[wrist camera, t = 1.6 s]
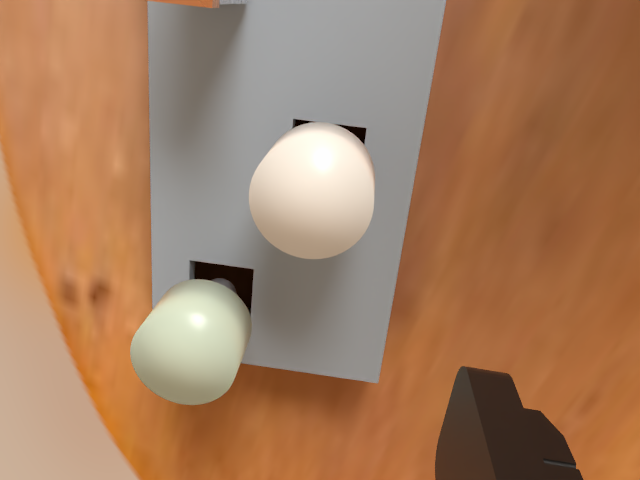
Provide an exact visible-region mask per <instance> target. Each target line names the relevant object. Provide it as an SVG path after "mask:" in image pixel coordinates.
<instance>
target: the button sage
mask: <svg viewBox="0 0 640 480" xmlns="http://www.w3.org/2000/svg"><path fill="white" fill-rule="evenodd" d="M251 333H252V321H251V317H250V313H249V311H248V309H247V307H246V305H245V304H244V302H243V301H242V300H241V299H240V297H239V296H238V295H237V292H236V289H235V287H234V285H233V284H232V283H231V282H230V281H228V280H226V279H223V278H215V279H213V280H211V281H209V280H203V279H192V280H186V281H183V282H180V283H178V284H176V285H174V286H173V287H171V288H170V289H169V290H168V291H167V292H166V293H165V294H164V295H163V297H162V298H161V299H160V301H159V302H158V303H157V305H156V306H155V307H154V309H153V310H152V311H151V313H150V314H149V315H148V317H147V318H146V320H145V321H144V322H143V324H142V325H141V326H140V328H139V329H138V330H137V332H136V333H135V335H134V337H133V340H132V343H131V350H130V355H131V361H132V365H133V367H134V370H135V372H136V374H137V375H138V377H139V378H140V380H141V381H142V382H143V383H144V384H145V385H146V387H148V388H149V389H150V390H151V391H152V392H154V393H155V394H157V395H158V396H160V397H162V398H164V399H166V400H169V401H172V402H175V403H179V404H185V405H199V404H205V403H209V402H211V401H214V400H216V399H218V398H219V397H221V396H222V395H223V394H225V393H226V392H227V391H228V389H229V388H230V387H231V385H232V383H233V381H234V379H235V376H236V374H237V371H238V369H239V366H240V363H241V361H242V358H243V356H244V353H245V351H246V348H247V345H248V343H249V340H250V337H251Z"/></svg>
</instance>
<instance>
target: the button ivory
mask: <svg viewBox="0 0 640 480" xmlns="http://www.w3.org/2000/svg"><path fill="white" fill-rule="evenodd" d="M374 192H375V170H374V165H373V161H372V158H371V156H370V154H369V152H368V150H367V148H366V147H365V145H364V144H363V143H362V142H361V141H360V139H359V138H357V137H356V136H355V135H354V134H353V133H351V132H350V131H348V130H347V129H345V128H343V127H341V126H338V125H335V124H331V123H326V122H310V123H306V124H302V125H299V126H296V127H294V128H292V129H290V130H289V131H287V132H286V133H284V134H283V135H282V136H281V137H280V138H279V139H278V140H277V141H276V143H275V144H274V145H273V147H272V148H271V149H270V151H269V152H268V153H267V155H266V156H265V157H264V159H263V160H262V161H261V163H260V164H259V165H258V167H257V169H256V170H255V172H254V175H253V177H252V180H251V183H250V188H249V206H250V211H251V214H252V217H253V220H254V222H255V224H256V226H257V228H258V229H259V231H260V232H261V234H262V235H263V236H264V237H265V238H266V239H267V240H268V241H269V242H270V243H271V244H272V245H274V246H275V247H276V248H278V249H279V250H281V251H283V252H285V253H287V254H289V255H292V256H295V257H299V258H304V259H323V258H329V257H332V256H336V255H338V254H340V253H343V252H344V251H346V250H348V249H349V248H351V247H352V246H353V245H354V244H356V243H357V242H358V241H359V240H360V238H361V237H362V236H363V235H364V233H365V232H366V230H367V228H368V226H369V224H370V221H371V219H372V215H373V210H374Z"/></svg>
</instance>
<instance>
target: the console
mask: <svg viewBox="0 0 640 480" xmlns="http://www.w3.org/2000/svg"><path fill="white" fill-rule="evenodd" d="M445 5H446V0H247V4H219V8H206V7H198V6H189V5H180V4H172V3H163V2H154V1H148V57H149V119H150V182H151V244H152V307H153V309H154V307H155V306H156V305H157V303H158V302H159V301H160V299H161V298H162V297H163V295H164V294H165V293H166V292H167V291H168V290H169V289H170V288H171V287H173V286H174V285H176V284H178V283H180V282H183V281H186V280H192V279H195V261H199V262H206V263H213V264H220V265H227V266H235V267H242V268H249V269H254V273H253V289H252V304H251V308H248V307H247V309H248V311H249V313H250V317H251V321H252V333H251V337H250V340H249V343H248V345H247V348H246V351H245V353H244V356H243V358H242V361H241V363H244V364H251V365H257V366H264V367H271V368H278V369H284V370H291V371H298V372H305V373H311V374H318V375H325V376H332V377H338V378H345V379H352V380H359V381H365V382H372V383H378V381H379V376H380V370H381V365H382V359H383V353H384V348H385V342H386V336H387V331H388V325H389V320H390V314H391V308H392V303H393V297H394V291H395V286H396V280H397V275H398V269H399V263H400V258H401V252H402V246H403V241H404V235H405V230H406V224H407V218H408V213H409V207H410V201H411V196H412V190H413V185H414V179H415V173H416V168H417V162H418V156H419V151H420V145H421V140H422V134H423V128H424V123H425V117H426V111H427V106H428V100H429V95H430V89H431V83H432V78H433V72H434V66H435V61H436V55H437V50H438V44H439V38H440V33H441V27H442V21H443V16H444V10H445ZM295 119H298V120H306V121H314V122H326V123H331V124H338V125H346V126H354V127H362V128H366V135H365V143H364V145H365V147H366V148H367V150H368V152H369V154H370V156H371V158H372V161H373V165H374V170H375V192H374V210H373V215H372V219H371V221H370V224H369V226H368V228H367V230H366V232H365V233H364V235H363V236H362V237H361V238H360V240H359V241H358V242H357V243H356V244H354V245H353V246H352V247H351V248H349V249H348V250H346V251H344V252H343V253H340V254H338V255H336V256H332V257H329V258H323V259H304V258H299V257H295V256H292V255H289V254H287V253H285V252H283V251H281V250H279V249H278V248H276V247H275V246H274V245H272V244H271V243H270V242H269V241H268V240H267V239H266V238H265V237H264V236H263V235H262V234H261V232H260V231H259V229H258V228H257V226H256V224H255V222H254V220H253V217H252V214H251V211H250V206H249V188H250V183H251V180H252V177H253V175H254V172H255V170H256V169H257V167H258V165H259V164H260V163H261V161H262V160H263V159H264V157H265V156H266V155H267V153H268V152H269V151H270V149H271V148H272V147H273V145H274V144H275V143H276V141H277V140H278V139H279V138H280V137H281V136H282V135H283V134H284V133H286V132H287V131H289V130H290V129H292V128H294V127H295Z"/></svg>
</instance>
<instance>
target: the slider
mask: <svg viewBox="0 0 640 480" xmlns="http://www.w3.org/2000/svg"><path fill="white" fill-rule="evenodd" d="M146 1H154V2H163V3H172V4H180V5H189V6H198V7H206V8H219V4H247V0H146Z"/></svg>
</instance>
